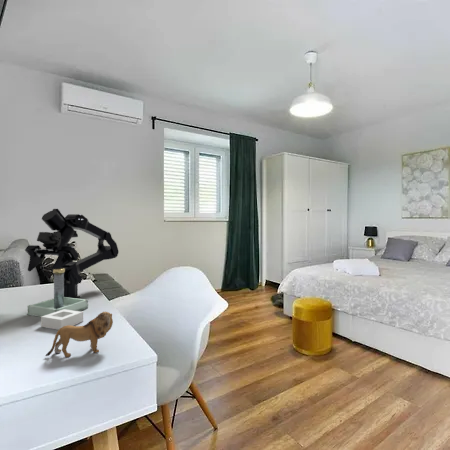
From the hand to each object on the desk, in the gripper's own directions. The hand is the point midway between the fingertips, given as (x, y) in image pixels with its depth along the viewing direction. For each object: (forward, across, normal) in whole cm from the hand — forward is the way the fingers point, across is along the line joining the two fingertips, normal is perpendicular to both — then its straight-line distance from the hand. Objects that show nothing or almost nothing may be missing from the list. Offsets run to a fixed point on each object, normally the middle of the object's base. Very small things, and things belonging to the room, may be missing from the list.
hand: (40, 271), depth 105 cm
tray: (+10, +8, +9) cm, 16 cm away
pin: (+10, +8, +8) cm, 15 cm away
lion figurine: (+30, +36, -10) cm, 48 cm away
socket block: (+18, +18, +1) cm, 26 cm away
